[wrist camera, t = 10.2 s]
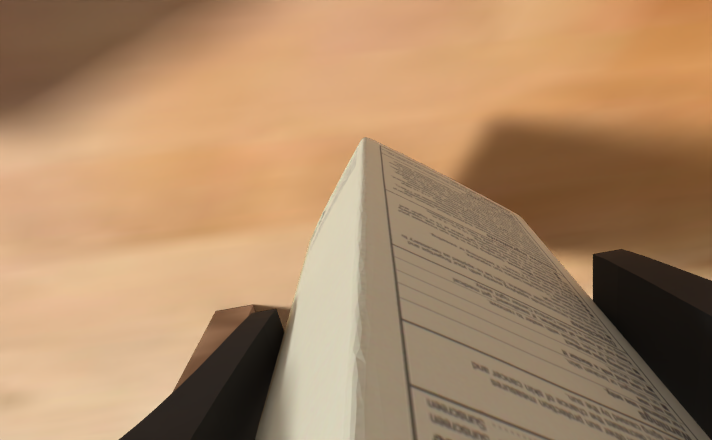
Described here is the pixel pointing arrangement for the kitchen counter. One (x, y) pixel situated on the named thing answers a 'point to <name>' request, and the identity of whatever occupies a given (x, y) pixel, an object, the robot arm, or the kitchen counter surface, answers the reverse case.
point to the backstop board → (215, 336)
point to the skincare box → (449, 326)
